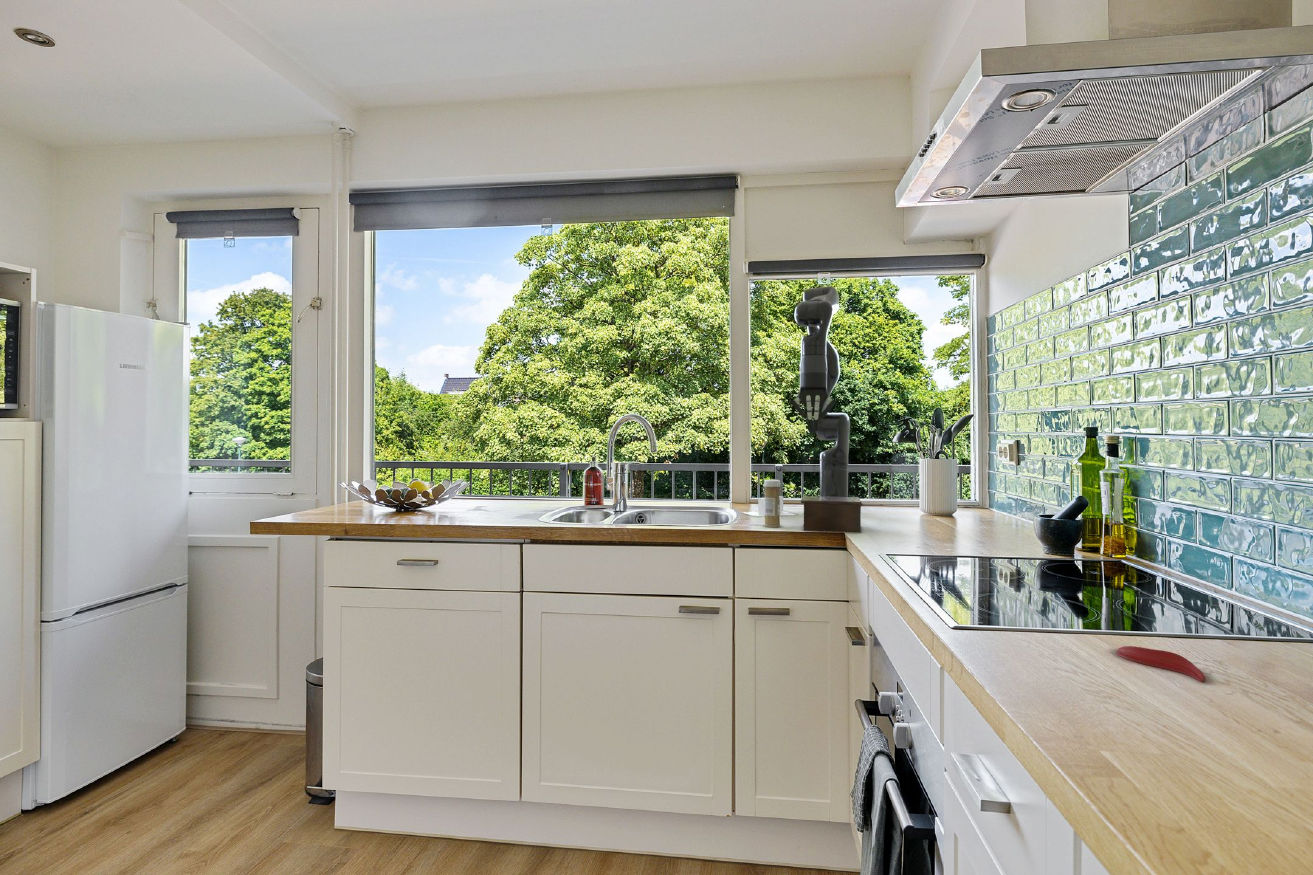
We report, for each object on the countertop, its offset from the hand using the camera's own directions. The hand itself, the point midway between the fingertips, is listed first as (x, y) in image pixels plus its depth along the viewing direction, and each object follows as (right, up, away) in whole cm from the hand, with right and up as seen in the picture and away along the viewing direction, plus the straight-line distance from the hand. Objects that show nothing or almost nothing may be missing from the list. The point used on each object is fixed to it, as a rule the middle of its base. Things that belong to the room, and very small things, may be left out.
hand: (812, 433), depth 210 cm
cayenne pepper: (+18, -30, -119) cm, 124 cm away
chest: (+5, -27, -1) cm, 28 cm away
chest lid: (+5, -19, -1) cm, 20 cm away
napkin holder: (-7, -27, +33) cm, 43 cm away
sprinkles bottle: (-11, -27, +3) cm, 29 cm away
